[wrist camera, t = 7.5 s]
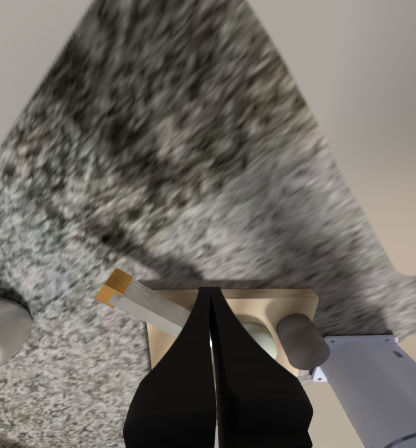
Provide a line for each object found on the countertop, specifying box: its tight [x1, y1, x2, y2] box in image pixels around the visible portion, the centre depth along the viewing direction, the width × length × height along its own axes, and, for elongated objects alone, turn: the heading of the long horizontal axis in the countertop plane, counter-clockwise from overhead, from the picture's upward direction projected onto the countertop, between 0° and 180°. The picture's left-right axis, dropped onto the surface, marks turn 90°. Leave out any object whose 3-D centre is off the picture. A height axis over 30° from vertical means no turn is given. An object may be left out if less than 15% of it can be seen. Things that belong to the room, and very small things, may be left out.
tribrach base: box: [147, 289, 330, 388], centre depth 21 cm, size 18×15×5 cm
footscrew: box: [94, 268, 214, 360], centre depth 17 cm, size 4×12×3 cm, turn 52°
